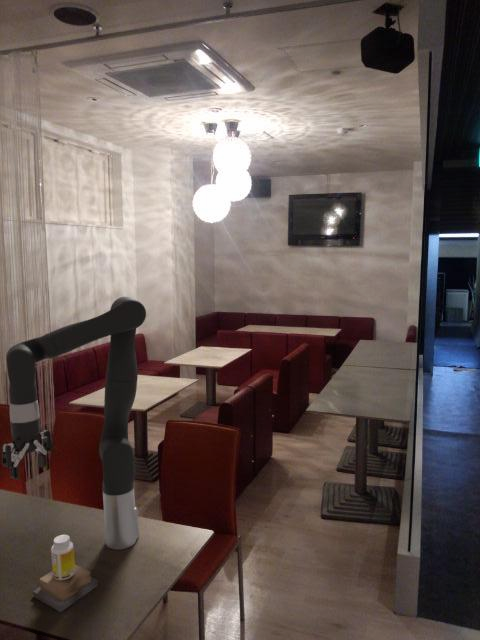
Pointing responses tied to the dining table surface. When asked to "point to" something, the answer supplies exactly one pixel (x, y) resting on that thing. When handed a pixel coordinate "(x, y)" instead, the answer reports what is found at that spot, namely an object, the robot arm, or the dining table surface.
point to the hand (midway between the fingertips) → (29, 472)
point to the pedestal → (64, 589)
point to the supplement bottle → (63, 558)
